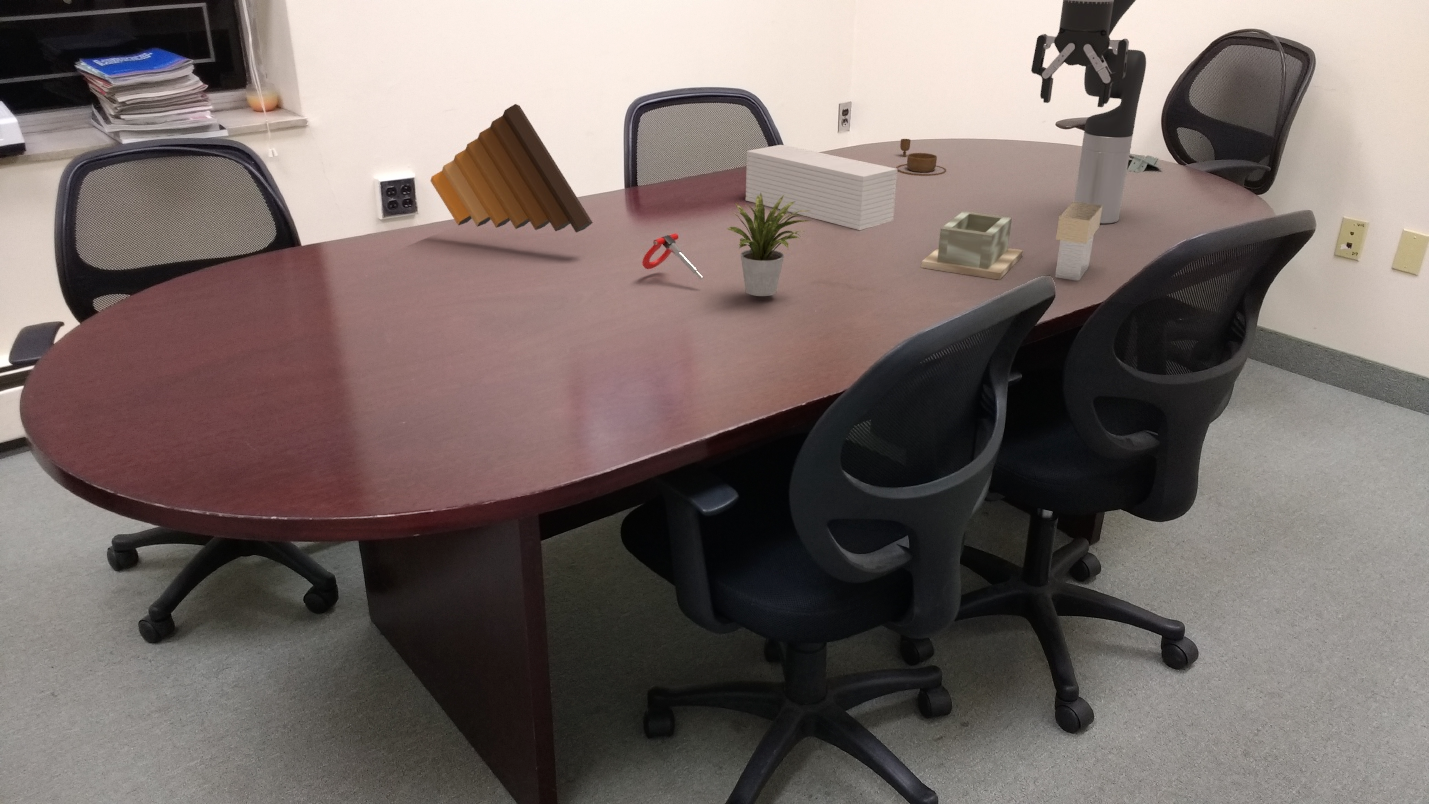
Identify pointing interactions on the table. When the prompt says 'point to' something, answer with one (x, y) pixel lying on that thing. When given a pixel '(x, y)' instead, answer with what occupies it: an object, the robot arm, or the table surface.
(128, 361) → the table surface
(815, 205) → the stack of papers
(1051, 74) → the robot arm
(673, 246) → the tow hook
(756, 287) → the house plant
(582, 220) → the pan flute
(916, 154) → the place setting
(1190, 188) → the table surface
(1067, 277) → the two-tone square post
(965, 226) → the grey open box
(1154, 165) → the metal bracket
